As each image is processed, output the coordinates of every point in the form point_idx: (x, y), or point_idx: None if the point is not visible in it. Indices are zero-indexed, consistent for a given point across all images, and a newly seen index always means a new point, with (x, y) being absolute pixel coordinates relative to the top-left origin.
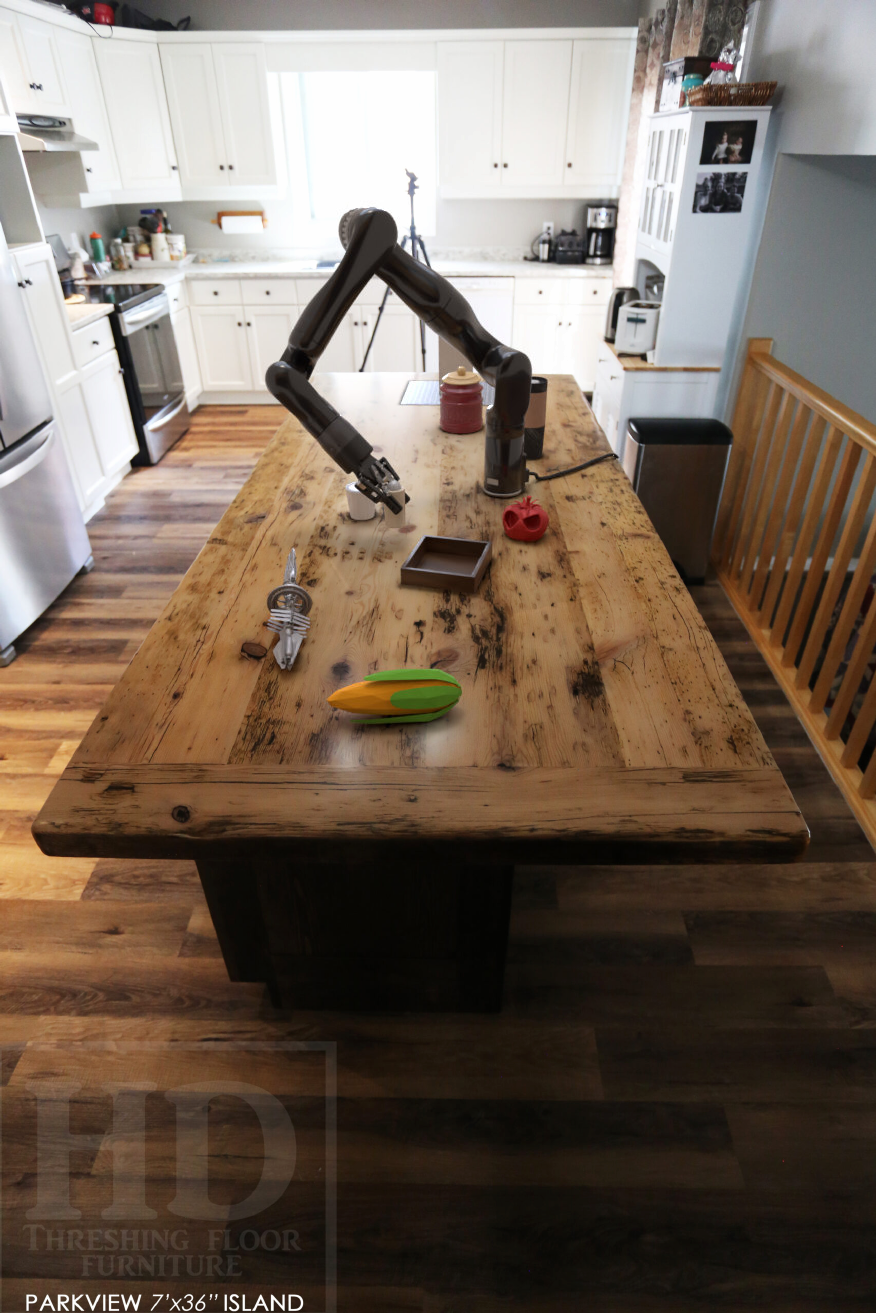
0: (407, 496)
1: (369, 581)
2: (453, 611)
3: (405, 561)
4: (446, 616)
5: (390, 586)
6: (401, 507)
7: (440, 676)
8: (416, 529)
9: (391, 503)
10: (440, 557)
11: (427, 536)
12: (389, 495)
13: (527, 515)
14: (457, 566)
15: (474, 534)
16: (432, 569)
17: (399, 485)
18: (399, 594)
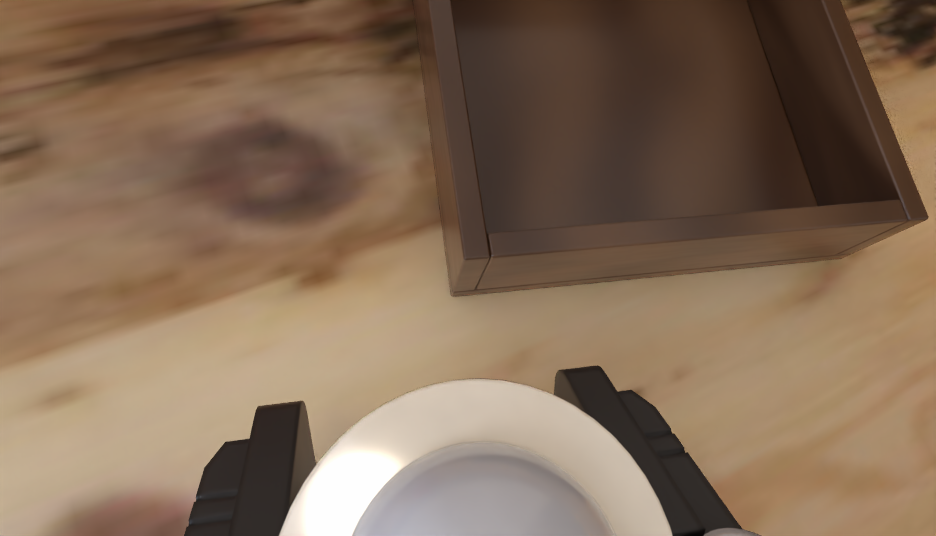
0: (285, 429)
1: (887, 436)
2: (875, 7)
3: (849, 222)
4: (918, 19)
5: (865, 308)
6: (594, 372)
7: None
8: (128, 484)
9: (700, 476)
10: (512, 172)
11: (484, 222)
12: (734, 532)
13: None
14: (568, 70)
15: (125, 109)
16: (650, 166)
17: (495, 459)
18: (898, 238)
